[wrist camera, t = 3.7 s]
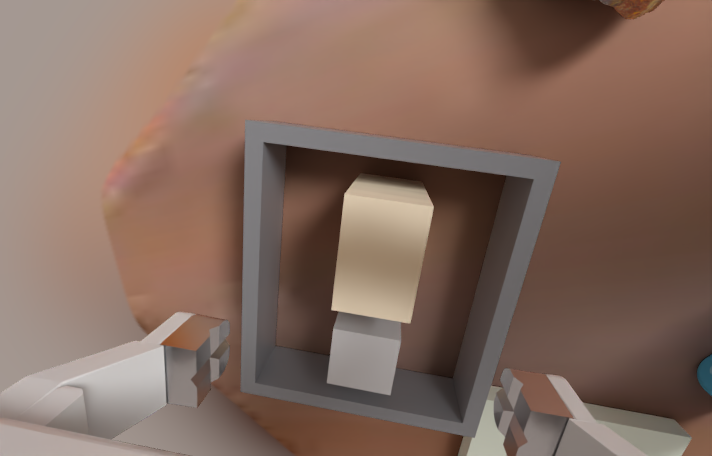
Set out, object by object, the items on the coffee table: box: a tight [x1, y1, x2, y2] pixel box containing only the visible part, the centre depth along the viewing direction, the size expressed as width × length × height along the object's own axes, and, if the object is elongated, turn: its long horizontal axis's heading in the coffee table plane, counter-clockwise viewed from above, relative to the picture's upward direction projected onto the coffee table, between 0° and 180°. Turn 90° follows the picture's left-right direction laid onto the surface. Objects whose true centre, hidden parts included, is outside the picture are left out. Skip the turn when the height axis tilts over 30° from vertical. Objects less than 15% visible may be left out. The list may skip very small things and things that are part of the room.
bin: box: [241, 120, 561, 438], centre depth 21 cm, size 18×16×4 cm
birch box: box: [331, 173, 434, 324], centre depth 19 cm, size 6×4×7 cm, turn 173°
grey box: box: [327, 311, 401, 395], centre depth 22 cm, size 4×4×5 cm
